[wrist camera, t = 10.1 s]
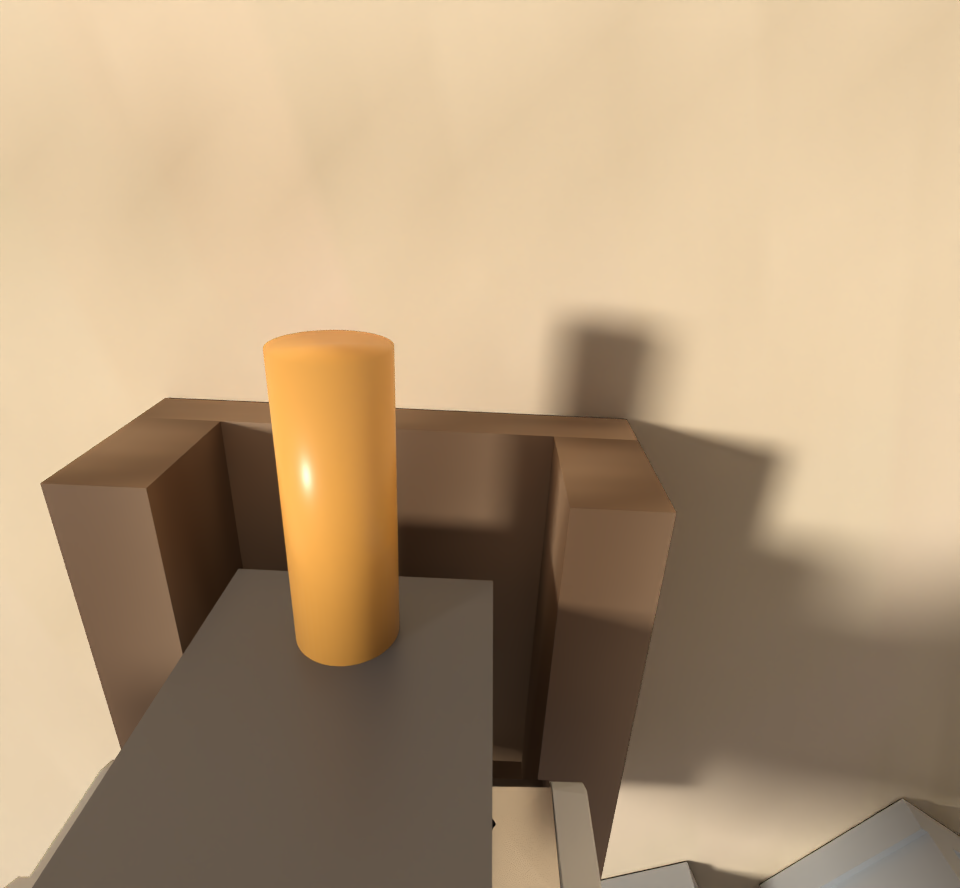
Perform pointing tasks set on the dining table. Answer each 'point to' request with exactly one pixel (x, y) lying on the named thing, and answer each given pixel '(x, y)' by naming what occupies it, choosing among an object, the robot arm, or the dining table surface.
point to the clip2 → (655, 878)
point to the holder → (421, 553)
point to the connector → (313, 685)
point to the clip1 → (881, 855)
